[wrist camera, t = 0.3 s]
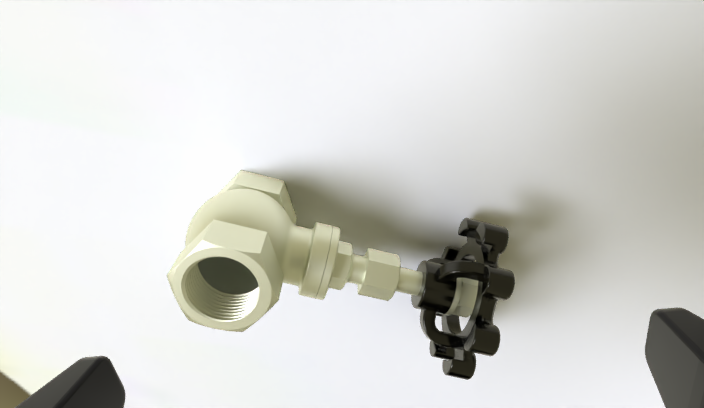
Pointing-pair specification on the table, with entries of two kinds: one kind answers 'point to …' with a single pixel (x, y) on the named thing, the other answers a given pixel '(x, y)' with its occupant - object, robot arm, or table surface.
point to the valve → (332, 270)
